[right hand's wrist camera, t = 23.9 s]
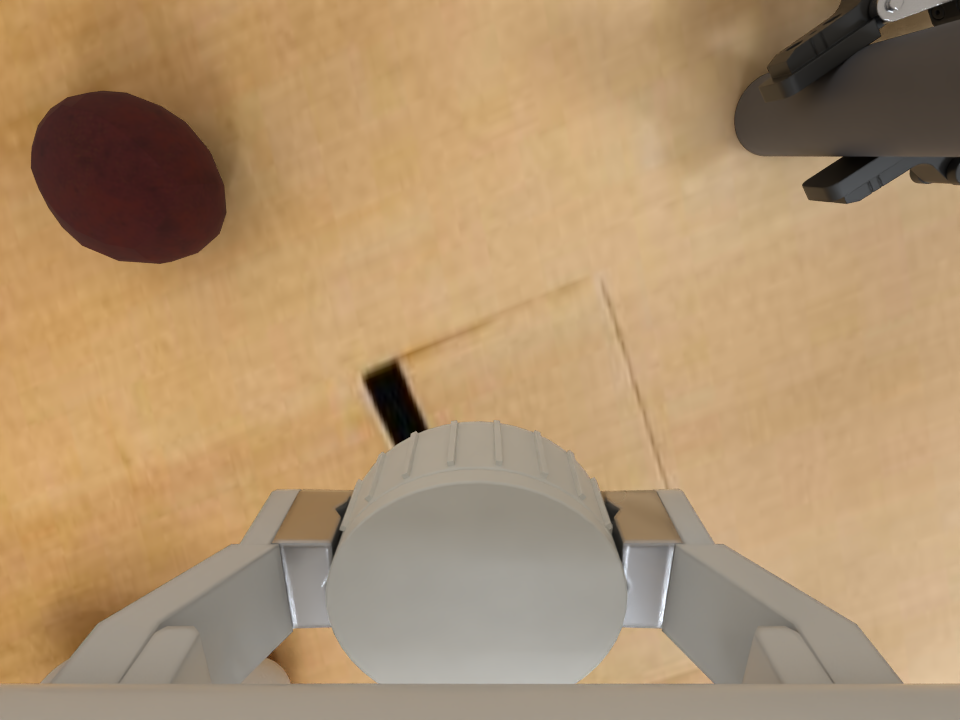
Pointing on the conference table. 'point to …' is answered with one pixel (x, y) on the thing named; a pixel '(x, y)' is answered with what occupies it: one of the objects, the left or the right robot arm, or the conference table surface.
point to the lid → (476, 562)
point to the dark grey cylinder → (867, 104)
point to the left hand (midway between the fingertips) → (796, 144)
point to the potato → (127, 178)
